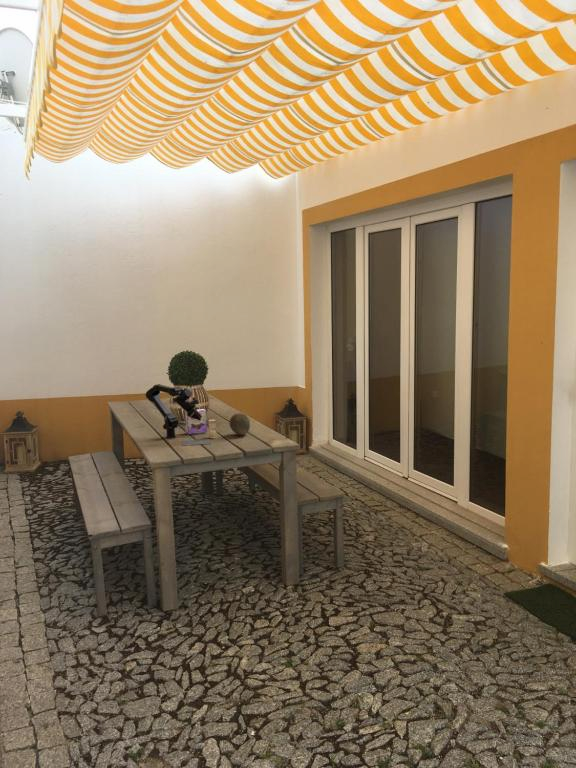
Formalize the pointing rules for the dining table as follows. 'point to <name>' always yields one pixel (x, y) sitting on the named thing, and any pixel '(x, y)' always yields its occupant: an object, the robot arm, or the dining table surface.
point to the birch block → (212, 428)
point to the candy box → (196, 423)
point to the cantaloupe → (239, 424)
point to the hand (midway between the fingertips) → (200, 418)
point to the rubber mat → (195, 442)
